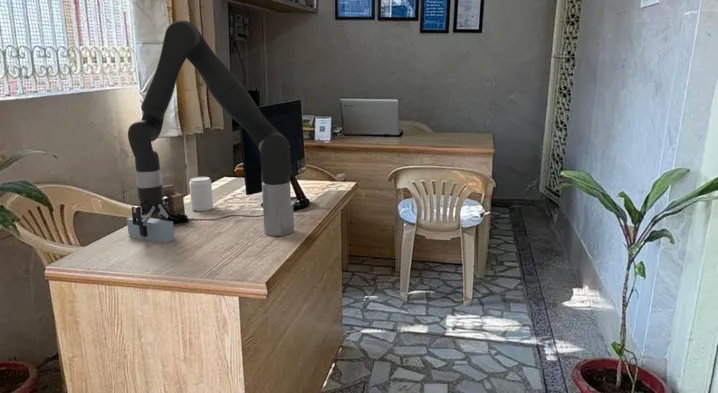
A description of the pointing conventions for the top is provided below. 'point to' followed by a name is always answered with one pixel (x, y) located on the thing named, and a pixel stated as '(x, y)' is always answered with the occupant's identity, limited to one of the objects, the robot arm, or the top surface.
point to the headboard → (172, 201)
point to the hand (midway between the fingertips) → (154, 232)
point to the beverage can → (201, 193)
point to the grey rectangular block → (153, 230)
